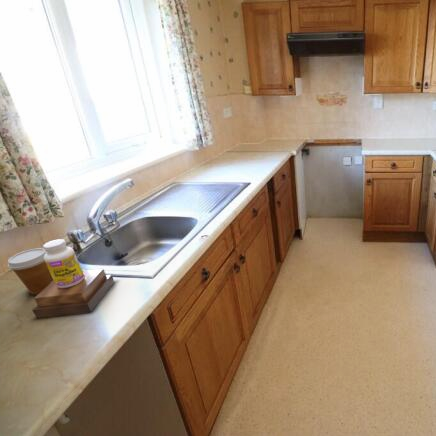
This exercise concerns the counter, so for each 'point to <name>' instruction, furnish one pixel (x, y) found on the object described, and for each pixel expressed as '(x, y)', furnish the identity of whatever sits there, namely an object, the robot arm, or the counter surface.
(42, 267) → the disposable coffee cup
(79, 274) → the supplement bottle
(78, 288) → the board stack
